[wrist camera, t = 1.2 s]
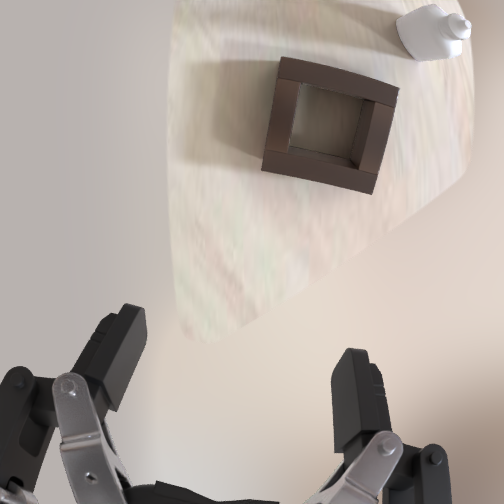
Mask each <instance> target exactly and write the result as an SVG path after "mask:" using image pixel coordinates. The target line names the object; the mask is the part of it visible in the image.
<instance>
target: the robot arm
mask: <svg viewBox="0 0 504 504" xmlns="http://www.w3.org/2000/svg"><path fill="white" fill-rule="evenodd" d="M146 340H147V327H146V319H145V310H144V308H142V307H138V306H135V305H131V304H127V303H126V304H124V305H123V307H122V308H121V310H120V312H119V313H118V314H114V313H110V314H109V315H108V316H106V317H105V318H103V319H102V320H101V321H100V323H99V325H98V326H97V328H96V330H95V332H94V333H93V334H92V336H91V338H90V340H89V341H88V343H87V344H86V346H85V348H84V349H83V351H82V353H81V355H80V356H79V358H78V360H77V362H76V363H75V365H74V367H73V368H72V370H71V371H70V372H69V373H64V374H62V375H60V376H59V377H57V378H44V377H36V376H33V374H32V373H31V371H30V370H29V369H28V368H26V367H23V366H17V367H14V368H12V369H10V370H9V371H8V372H7V374H6V375H5V377H4V379H3V381H2V382H1V384H0V504H39V503H38V500H37V499H36V497H35V496H34V495H33V491H34V488H35V485H36V481H37V478H38V475H39V472H40V469H41V466H42V463H43V460H44V457H45V454H46V451H47V448H48V446H49V443H50V440H51V438H52V435H53V432H54V430H55V427H59V429H60V433H61V437H62V443H60V453H61V457H62V460H63V464H64V467H65V471H66V474H67V477H68V480H69V483H70V486H71V489H72V492H73V494H74V497H75V500H76V502H77V504H279V502H274V501H262V500H252V499H247V500H236V501H223V502H222V501H221V502H218V501H214V500H211V499H209V498H206V497H204V496H202V495H199V494H197V493H195V492H193V491H191V490H189V489H187V488H182V487H179V486H175V485H171V484H167V483H164V482H160V481H156V483H155V485H153V484H150V485H149V484H147V485H138V486H133V485H132V483H131V481H130V478H129V476H128V474H127V472H126V469H125V467H124V466H123V464H122V462H121V460H120V458H119V455H118V453H117V450H116V448H115V445H114V442H113V440H112V437H111V434H110V431H109V428H108V425H107V423H106V419H105V416H106V413H107V411H108V409H110V410H112V411H115V412H117V410H118V408H119V405H120V403H121V400H122V398H123V396H124V393H125V391H126V388H127V386H128V384H129V382H130V379H131V377H132V375H133V372H134V370H135V368H136V366H137V363H138V361H139V359H140V356H141V354H142V352H143V350H144V348H145V345H146ZM383 386H384V383H383V378H382V374H381V372H380V371H379V369H378V368H377V366H376V365H375V364H372V363H369V358H368V353H367V351H366V350H363V349H354V348H347V349H346V350H345V352H344V354H343V355H342V357H341V359H340V360H339V362H338V364H337V365H336V367H335V368H334V371H333V373H332V377H331V392H332V406H333V426H334V453H344V460H342V462H341V463H340V464H339V465H338V467H337V468H336V469H335V470H334V472H333V473H332V474H331V475H330V476H329V478H328V479H327V480H326V481H325V483H324V484H323V485H322V486H321V487H320V488H319V489H318V490H317V492H316V493H315V494H314V495H312V496H311V497H310V498H309V499H308V500H306V501H305V502H304V503H303V504H378V502H379V500H378V499H377V496H378V494H379V492H380V491H381V489H382V488H383V498H382V504H452V498H451V497H452V496H451V484H450V475H449V466H448V459H447V454H446V452H445V450H444V449H443V448H442V447H441V446H439V445H437V444H429V445H427V446H426V447H424V448H423V449H421V448H417V447H413V446H410V445H406V444H404V443H402V441H401V439H400V438H399V436H398V435H396V434H395V433H393V431H392V428H391V422H390V416H389V410H388V404H387V399H386V397H385V394H386V393H385V389H384V387H383Z"/></svg>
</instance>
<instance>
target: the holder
mask: <svg viewBox="0 0 504 504" xmlns="http://www.w3.org/2000/svg"><path fill="white" fill-rule="evenodd" d="M301 84H304V85H309V86H313V87H318V88H322V89H326V90H330V91H334V92H338V93H342V94H345V95H349V96H353V97H356V98H360V99H363V100H364V101H363V105H362V110H361V114H360V119H359V123H358V127H357V132H356V136H355V140H354V144H353V148H352V152H351V156H350V160H349V159H345V158H341V157H337V156H333V155H328V154H324V153H320V152H315V151H311V150H306V149H302V148H297V147H292V146H289V143H290V137H291V132H292V127H293V122H294V117H295V112H296V106H297V101H298V96H299V91H300V85H301ZM398 93H399V88H398V87H395V86H393V85H390V84H387V83H384V82H381V81H378V80H375V79H372V78H369V77H366V76H363V75H359V74H356V73H352V72H349V71H345V70H342V69H338V68H334V67H330V66H326V65H322V64H317V63H313V62H308V61H304V60H299V59H293V58H288V57H281V60H280V66H279V71H278V78H277V83H276V88H275V94H274V100H273V105H272V111H271V117H270V122H269V128H268V134H267V139H266V145H265V151H264V156H263V162H262V168H261V171H266V172H271V173H277V174H282V175H287V176H292V177H297V178H302V179H306V180H311V181H316V182H320V183H325V184H329V185H333V186H338V187H342V188H346V189H350V190H354V191H358V192H362V193H366V194H370V195H372V193H373V190H374V187H375V183H376V180H377V177H378V173H379V169H380V166H381V162H382V159H383V155H384V152H385V148H386V144H387V140H388V136H389V132H390V128H391V124H392V120H393V116H394V112H395V107H396V103H397V98H398Z"/></svg>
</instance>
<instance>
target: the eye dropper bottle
mask: <svg viewBox="0 0 504 504" xmlns="http://www.w3.org/2000/svg"><path fill="white" fill-rule="evenodd" d="M396 26H397V31H398V34H399V37H400V39H401V41H402V43H403V45H404V46H405V48H406V49H407V51H408V52H409V53H410V54H411V56H412V57H413V58H414V59H415V60H417V61H419V62H424V61H432V60H442V59H449V58H453V57H456V56H459V55H460V54H461V51H462V45H461V40H464V39H467V38H469V36H470V33H471V30H470V28H471V27H472V25H471V23H470V22H469V21H468V20H466V19H465V18H464V17H462V16H461V15H459V14H455V13H453V14H450V15H448V14H447V13H446V12H445V11H444V10H443V9H441V8H440V7H439V6H437V5H435V4H431V5H426V6H422V7H420V8H418V9H416V10H414V11H412V12H410V13H408V14H406V15H404V16H402V17H400V18H399V19H397V21H396Z"/></svg>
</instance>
